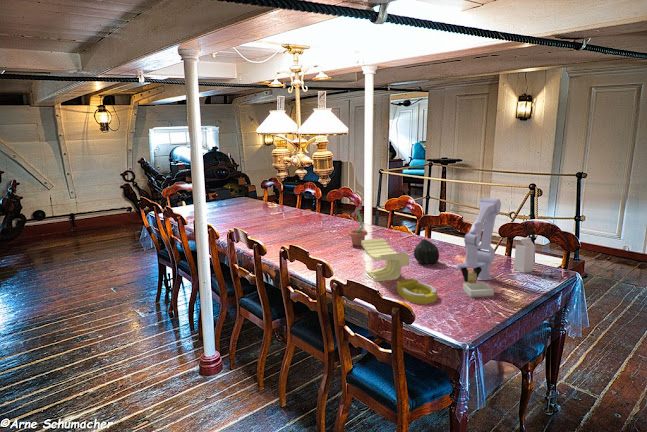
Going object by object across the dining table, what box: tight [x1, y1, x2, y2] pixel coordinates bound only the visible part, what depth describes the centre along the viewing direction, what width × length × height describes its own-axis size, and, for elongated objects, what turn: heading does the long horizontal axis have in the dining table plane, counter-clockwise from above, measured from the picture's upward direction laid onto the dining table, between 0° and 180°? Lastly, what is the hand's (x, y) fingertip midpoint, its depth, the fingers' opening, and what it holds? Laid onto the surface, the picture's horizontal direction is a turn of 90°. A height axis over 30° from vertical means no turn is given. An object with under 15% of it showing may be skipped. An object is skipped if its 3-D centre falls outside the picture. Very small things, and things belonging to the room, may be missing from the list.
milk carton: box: [513, 237, 536, 274], centre depth 236 cm, size 7×7×19 cm
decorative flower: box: [347, 203, 369, 247], centre depth 295 cm, size 15×14×30 cm
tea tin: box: [463, 269, 477, 284], centre depth 216 cm, size 4×4×7 cm
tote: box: [462, 282, 495, 298], centre depth 207 cm, size 10×12×4 cm
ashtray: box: [396, 278, 438, 305], centre depth 206 cm, size 16×21×5 cm
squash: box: [413, 238, 440, 265], centre depth 255 cm, size 14×15×15 cm
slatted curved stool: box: [360, 238, 410, 282], centre depth 232 cm, size 30×16×18 cm, turn 15°
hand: (470, 281), depth 216 cm, fingers closed on tea tin, 4 cm apart
